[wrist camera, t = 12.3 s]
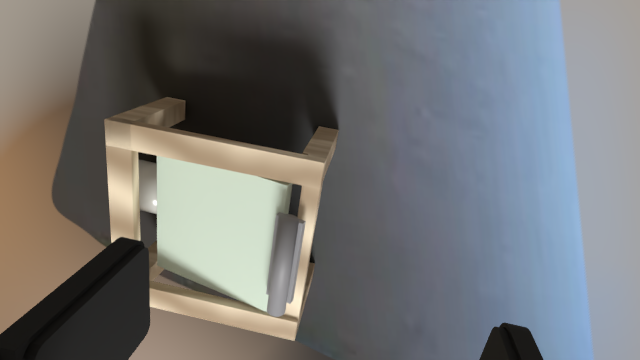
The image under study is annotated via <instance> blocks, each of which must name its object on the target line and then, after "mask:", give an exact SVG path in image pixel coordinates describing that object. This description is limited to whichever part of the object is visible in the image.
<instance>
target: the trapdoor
mask: <svg viewBox="0 0 640 360" xmlns="http://www.w3.org/2000/svg"><path fill="white" fill-rule="evenodd" d="M292 184H293V183H288V182H283V181H278V180H273V179H269V178H264V177H259V176H254V175H249V174H244V173H239V172H234V171H230V170H225V169H220V168H215V167H210V166H205V165H200V164H195V163H190V162H186V161H181V160H176V159H171V158H166V157H161V156H157V266H159V267H162V268H164V269H166V270H169V271H171V272H174V273H176V274H178V275H181V276H183V277H185V278H188V279H190V280H192V281H195V282H197V283H199V284H202V285H204V286H206V287H209V288H211V289H213V290H216V291H218V292H221V293H223V294H225V295H228V296H230V297H232V298H235V299H237V300H239V301H242V302H244V303H246V304H249V305H251V306H253V307H256V308H258V309H261V310H263V311H265V312H268V314H270V315H271V316H274V317H279V316H282V315H284V313H285V310H286V304H287V303H289V304H291V302H292V301H293V298H294V292H295V286H296V280H297V273H298V267H299V261H300V255H301V248H302V242H303V236H304V230H305V223H306V221H304V220H302V219H299V218H298V217H297V216H295V215H292V214H288V213H289V206H290V199H291V192H292Z"/></svg>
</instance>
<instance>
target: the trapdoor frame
mask: <svg viewBox="0 0 640 360" xmlns="http://www.w3.org/2000/svg"><path fill="white" fill-rule="evenodd" d="M104 120H105V137H106V155H107V172H108V190H109V207H110V225H111V242H112V243H113V242H114V241H115V240H116V239H118V238H119V237H125V238H130V239H134V240H139V241H140V206H139V165H138V152H142V153H147V154H151V155H156V156H161V157H166V158H171V159H176V160H181V161H186V162H190V163H195V164H200V165H205V166H210V167H215V168H220V169H225V170H230V171H234V172H239V173H244V174H249V175H254V176H259V177H264V178H269V179H273V180H278V181H283V182H288V183H293V184H298V185H302V190H301V197H300V204H299V210H298V218H299V219H302V220H304V221H306V223H305V230H304V236H303V242H302V248H301V255H300V261H299V267H298V273H297V280H296V286H295V292H294V298H293V301H292V302H291V304H289V303H287V304H286V310H285V313H284V315H282V316H279V317H274V316H271V315H270V314H268V312H265V311H263V310H261V309H258V308H256V307H253V306H251V305H249V304H246V303H244V302H240V301H236V300H231V299H227V298H223V297H218V296H214V295H210V294H205V293H201V292H197V291H192V290H188V289H184V288H179V287H175V286H171V285H166V284H162V283H158V282H154V280H155V279H156V277H157V276H158V275H159V274H160V273H161V272H162V271H163V270H164V268H162V267H159V266H157V240H156V241H155V242H154V243H153V244H152V245H151V246H150V247H149V248H148V250H149V283H150V307H154V308H159V309H162V310H167V311H171V312H175V313H179V314H183V315H188V316H192V317H197V318H200V319H205V320H209V321H213V322H217V323H221V324H226V325H230V326H234V327H238V328H242V329H247V330H251V331H255V332H259V333H264V334H268V335H272V336H277V337H280V338H285V339H289V340H293V341H295V337H296V334H297V330H298V326H299V323H300V319H301V316H302V312H303V309H304V305H305V302H306V298H307V295H308V291H309V288H310V284H311V281H312V277H313V271H314V266H315V264H314V263H310V262H309V260H310V254H311V248H312V242H313V236H314V231H315V225H316V219H317V213H318V207H319V201H320V196H321V190H322V184H323V179H324V177H325V174H326V172H327V169H328V166H329V164H330V161H331V159H332V156H333V154H334V151H335V148H336V142H337V137H338V131H339V130H336V129H331V128H325V127H320V126H319V127H318V129H317V130H316V132H315V133H314V135H313V137H312V138H311V140H310V141H309V143H308V145H307V146H306V148H305V149H304V151H303V153H302V154H299V153H294V152H289V151H284V150H279V149H274V148H269V147H264V146H259V145H253V144H248V143H243V142H238V141H233V140H228V139H223V138H218V137H213V136H208V135H203V134H198V133H193V132H188V131H183V130H178V129H173V128H169V127H171V126H173V125H175V124H177V123H179V122H181V121H183V120H185V100H180V99H175V98H169V97H166V98H163V99H160V100H157V101H154V102H152V103H149V104H146V105H143V106H140V107H138V108H135V109H132V110H129V111H126V112H123V113H121V114H118V115H115V116H112V117H109V118H107V119H104Z"/></svg>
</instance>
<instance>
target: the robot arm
mask: <svg viewBox="0 0 640 360" xmlns="http://www.w3.org/2000/svg"><path fill="white" fill-rule="evenodd" d="M149 326H150V283H149V250H148V248H145V247H144V244H143V242H142V241H139V240H134V239H130V238H125V237H119V238H118V239H116V240H115V241H114V242H113V243H111V244H110V245H109V246H108V247H107V248H105V249H104V250H103V251H102V252H100V253H99V254H98V255H97V256H96V257H94V258H93V259H92V260H91V261H89V262H88V263H87V264H86V265H85V266H84V267H82V268H81V269H80V270H78V271H77V272H76V273H75V274H74V275H72V276H71V277H70V278H69V279H67V280H66V281H65V282H64V283H63V284H61V285H60V286H59V287H58V288H56V289H55V290H54V291H53V292H52V293H50V294H49V295H48V296H47V297H45V298H44V299H43V300H42V301H41V302H39V303H38V304H37V305H36V306H34V307H33V308H32V309H31V310H30V311H28V312H27V313H26V314H25V315H24V316H23V317H21V318H20V319H18V320H17V321H16V322H15V323H14V324H12V325H11V326H10V327H9V328H7V329H6V330H5V331H4V332H3V333H1V334H0V360H128V359H129V357H130V356H131V355H132V353H133V352H134V351H135V350H136V348H137V347H138V346H139V344H140V343H141V341H142V340H143V339H144V338H145V336H146V334H147V332H148V330H149ZM480 360H543V358H542V356H541V354H540V351H539V349H538V347H537V345H536V343H535V341H534V338H533V336H532V334H531V332H530V330H529V329H528V328H526V327H522V326H517V325H513V324H508V323H502V324H501V325H500V327H494V328H493V329H492V331H491V333H490V336H489V338H488V340H487V343H486V345H485V348H484V350H483V352H482V355H481V357H480Z"/></svg>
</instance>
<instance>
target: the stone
mask: <svg viewBox="0 0 640 360" xmlns="http://www.w3.org/2000/svg"><path fill="white" fill-rule="evenodd" d="M138 165H139V206H140V210H142V211H146V212H150V213H154V214H157V163H153V162H149V161H144V160H138Z"/></svg>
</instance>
